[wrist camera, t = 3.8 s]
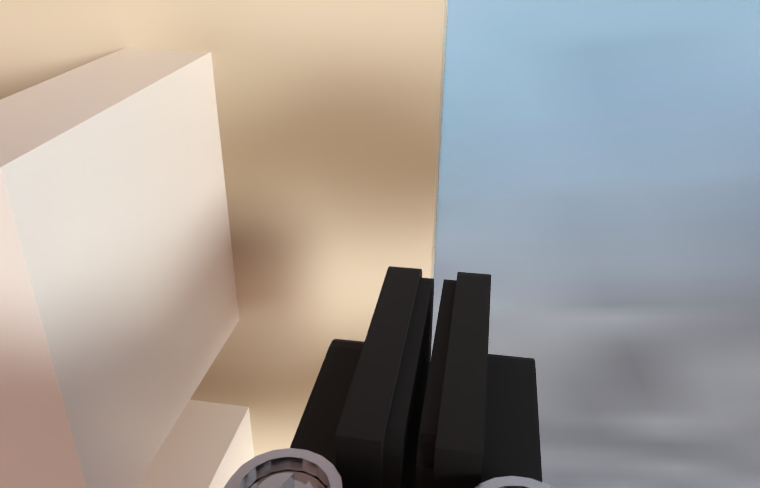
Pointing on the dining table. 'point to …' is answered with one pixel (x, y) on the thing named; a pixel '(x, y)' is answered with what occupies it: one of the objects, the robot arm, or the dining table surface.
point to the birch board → (286, 160)
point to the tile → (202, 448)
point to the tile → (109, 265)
